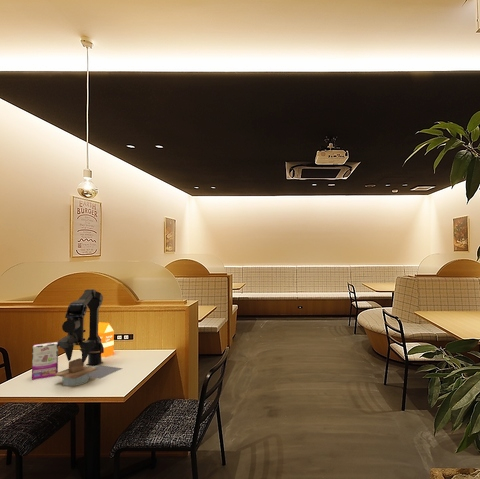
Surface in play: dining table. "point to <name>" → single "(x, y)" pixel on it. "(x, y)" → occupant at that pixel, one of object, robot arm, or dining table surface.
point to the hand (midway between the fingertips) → (76, 361)
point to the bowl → (75, 380)
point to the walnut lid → (75, 370)
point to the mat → (103, 371)
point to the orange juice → (106, 338)
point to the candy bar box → (44, 360)
